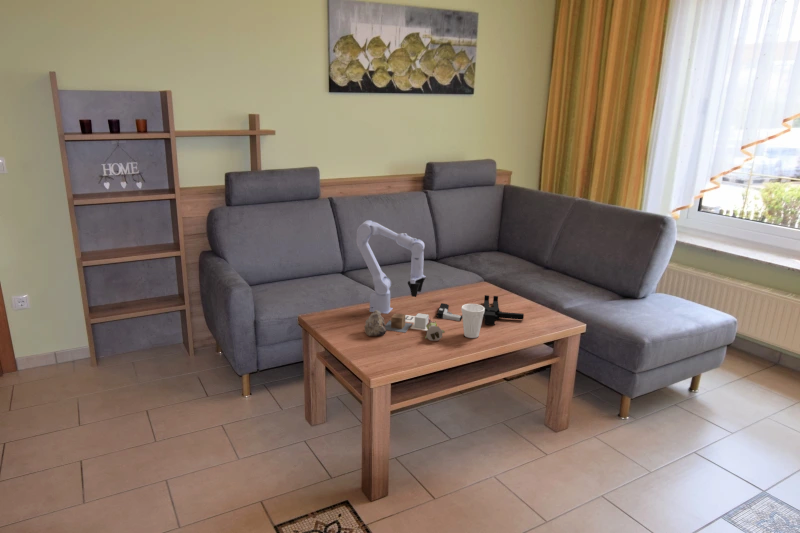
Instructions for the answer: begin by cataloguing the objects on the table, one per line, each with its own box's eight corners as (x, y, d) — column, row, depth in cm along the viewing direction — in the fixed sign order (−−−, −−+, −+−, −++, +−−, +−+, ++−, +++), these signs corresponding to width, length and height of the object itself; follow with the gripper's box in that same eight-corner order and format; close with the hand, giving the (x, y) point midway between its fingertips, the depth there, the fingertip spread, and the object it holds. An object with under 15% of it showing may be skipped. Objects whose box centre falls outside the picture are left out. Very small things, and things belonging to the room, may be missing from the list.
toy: (520, 297, 280) (525, 315, 251) (519, 308, 282) (524, 327, 252) (464, 293, 284) (463, 310, 255) (464, 304, 285) (462, 322, 256)
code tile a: (397, 321, 257) (397, 320, 257) (403, 315, 265) (403, 314, 265) (414, 323, 255) (414, 322, 255) (419, 317, 262) (419, 316, 262)
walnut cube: (391, 327, 248) (391, 317, 247) (394, 323, 253) (394, 313, 252) (401, 329, 247) (402, 318, 246) (405, 325, 252) (405, 314, 250)
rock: (364, 343, 240) (374, 331, 233) (355, 320, 245) (365, 307, 238) (382, 341, 245) (392, 329, 238) (373, 318, 250) (383, 306, 243)
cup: (458, 339, 239) (459, 310, 235) (461, 330, 248) (462, 302, 245) (481, 341, 237) (483, 312, 233) (483, 332, 246) (485, 304, 243)
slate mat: (381, 329, 247) (381, 329, 247) (389, 321, 257) (389, 320, 257) (405, 333, 244) (405, 332, 244) (412, 324, 254) (412, 323, 254)
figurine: (447, 339, 234) (442, 327, 249) (442, 324, 232) (437, 312, 247) (428, 347, 234) (424, 334, 249) (422, 331, 233) (418, 319, 247)
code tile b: (410, 328, 249) (410, 328, 248) (415, 322, 256) (415, 321, 256) (427, 331, 246) (427, 330, 246) (432, 325, 254) (432, 324, 254)
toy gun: (464, 305, 273) (440, 302, 275) (461, 317, 257) (435, 313, 259) (463, 311, 274) (439, 308, 276) (461, 323, 258) (435, 320, 260)
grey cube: (414, 327, 249) (414, 317, 248) (417, 323, 254) (417, 313, 253) (425, 329, 248) (425, 318, 247) (428, 325, 253) (428, 314, 251)
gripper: (421, 271, 252) (420, 299, 256) (429, 263, 266) (428, 290, 270) (406, 269, 254) (405, 297, 258) (415, 261, 268) (414, 288, 272)
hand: (416, 293), depth 264 cm, fingers open, 7 cm apart
